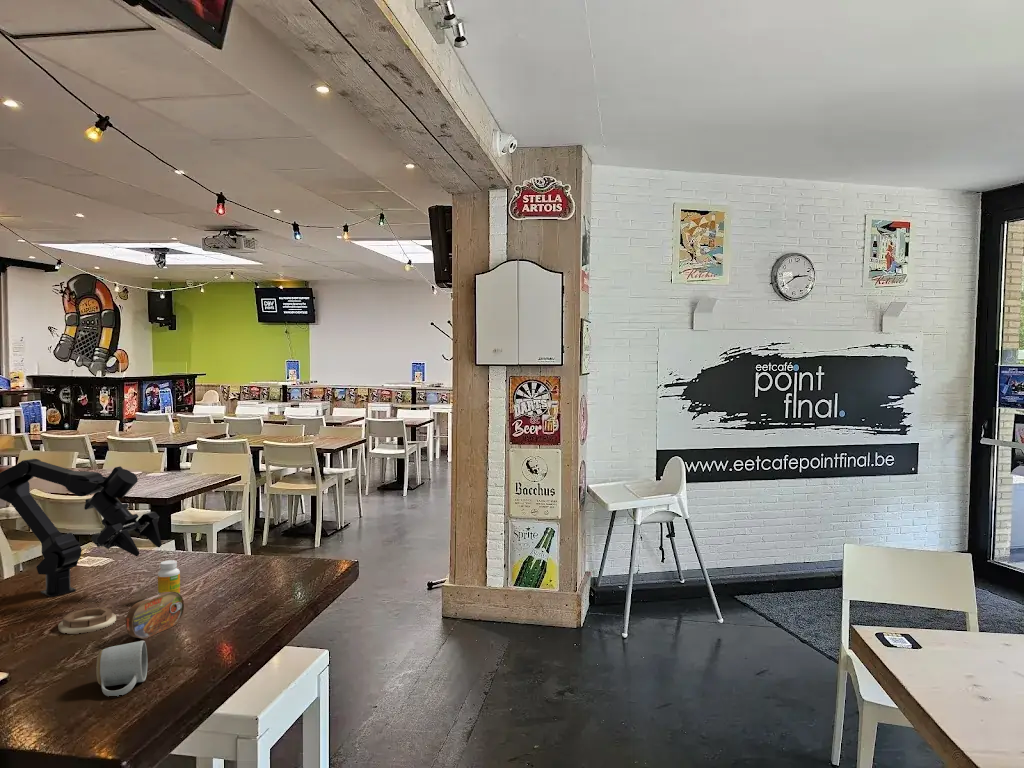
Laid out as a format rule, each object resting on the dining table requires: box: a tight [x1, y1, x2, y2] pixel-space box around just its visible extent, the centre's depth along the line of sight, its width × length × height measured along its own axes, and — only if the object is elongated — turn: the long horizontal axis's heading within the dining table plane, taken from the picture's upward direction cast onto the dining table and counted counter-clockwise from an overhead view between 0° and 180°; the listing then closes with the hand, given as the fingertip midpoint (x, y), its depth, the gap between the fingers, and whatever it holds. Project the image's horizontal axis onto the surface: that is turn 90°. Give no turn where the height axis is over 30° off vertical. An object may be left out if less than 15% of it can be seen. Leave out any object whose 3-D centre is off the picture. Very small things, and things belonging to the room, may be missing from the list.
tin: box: [125, 592, 185, 640], centre depth 167 cm, size 15×3×8 cm, turn 160°
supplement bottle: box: [157, 559, 181, 595], centre depth 192 cm, size 5×5×10 cm
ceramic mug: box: [95, 640, 148, 697], centre depth 139 cm, size 11×8×8 cm
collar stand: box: [58, 606, 117, 635], centre depth 172 cm, size 12×12×2 cm
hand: (149, 550), depth 192 cm, fingers open, 9 cm apart
